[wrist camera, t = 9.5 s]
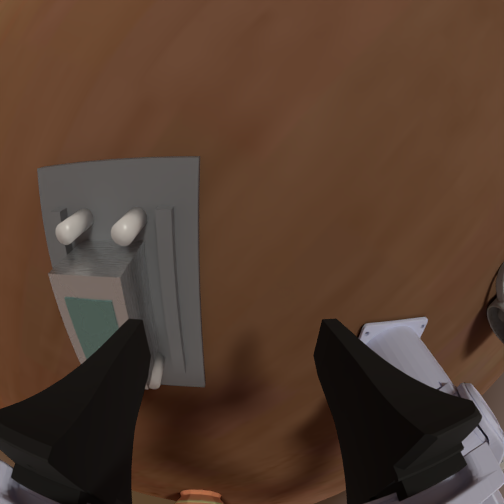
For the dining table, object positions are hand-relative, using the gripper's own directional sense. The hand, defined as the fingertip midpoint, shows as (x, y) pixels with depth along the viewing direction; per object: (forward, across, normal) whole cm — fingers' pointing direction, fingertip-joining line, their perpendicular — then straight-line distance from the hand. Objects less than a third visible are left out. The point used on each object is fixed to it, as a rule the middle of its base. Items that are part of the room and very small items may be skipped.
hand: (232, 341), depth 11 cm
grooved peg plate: (+9, +8, +4) cm, 13 cm away
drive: (+8, +8, +4) cm, 12 cm away
